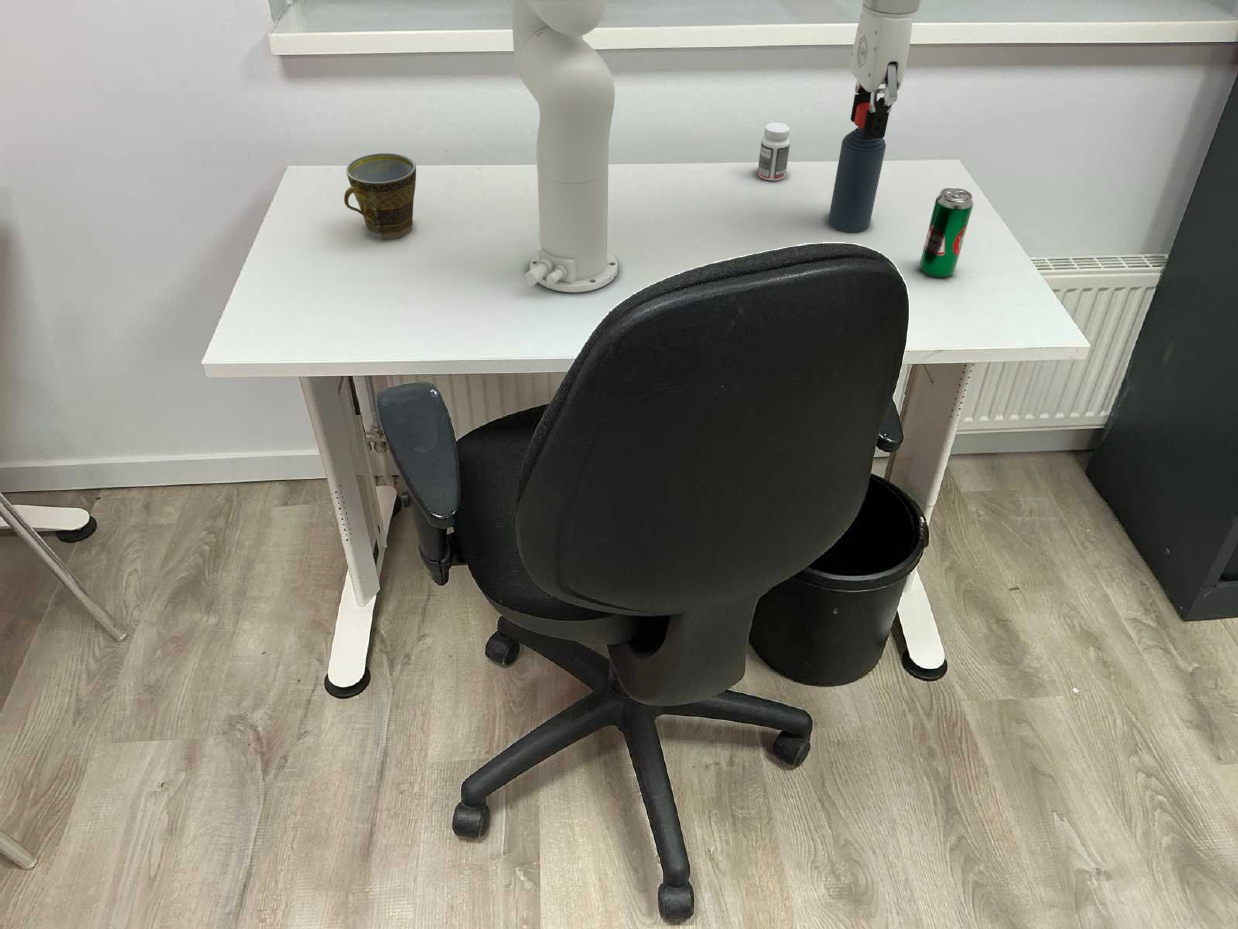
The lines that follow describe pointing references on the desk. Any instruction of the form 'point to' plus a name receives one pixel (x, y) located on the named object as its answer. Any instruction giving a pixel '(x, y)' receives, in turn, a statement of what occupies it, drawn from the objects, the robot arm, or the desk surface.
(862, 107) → the cap
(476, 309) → the desk surface
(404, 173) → the ceramic cup
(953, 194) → the soda can
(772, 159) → the pill bottle
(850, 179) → the bottle
